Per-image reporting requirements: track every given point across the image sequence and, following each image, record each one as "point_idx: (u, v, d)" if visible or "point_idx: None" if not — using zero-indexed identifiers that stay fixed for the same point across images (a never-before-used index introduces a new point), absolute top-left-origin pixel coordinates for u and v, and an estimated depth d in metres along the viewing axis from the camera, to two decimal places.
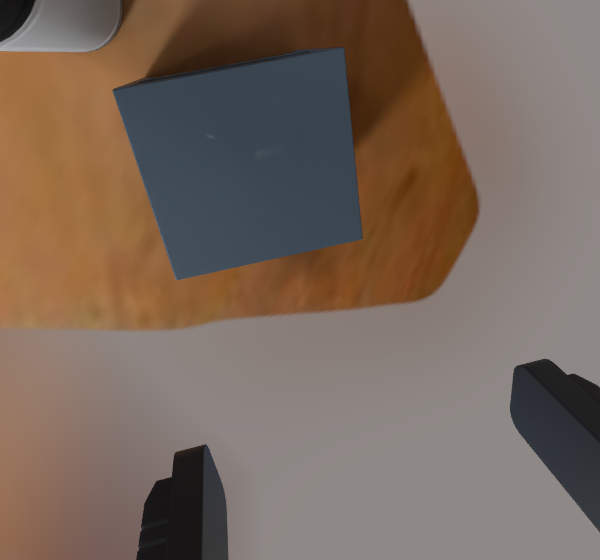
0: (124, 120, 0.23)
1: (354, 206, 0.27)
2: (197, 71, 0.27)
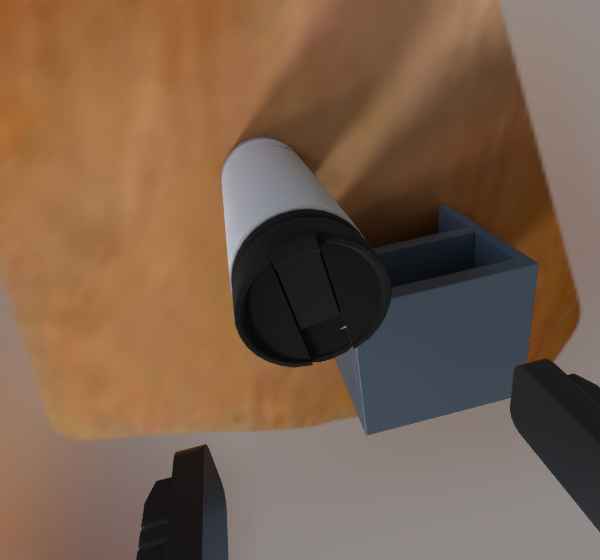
0: None
1: None
2: (382, 252, 0.32)
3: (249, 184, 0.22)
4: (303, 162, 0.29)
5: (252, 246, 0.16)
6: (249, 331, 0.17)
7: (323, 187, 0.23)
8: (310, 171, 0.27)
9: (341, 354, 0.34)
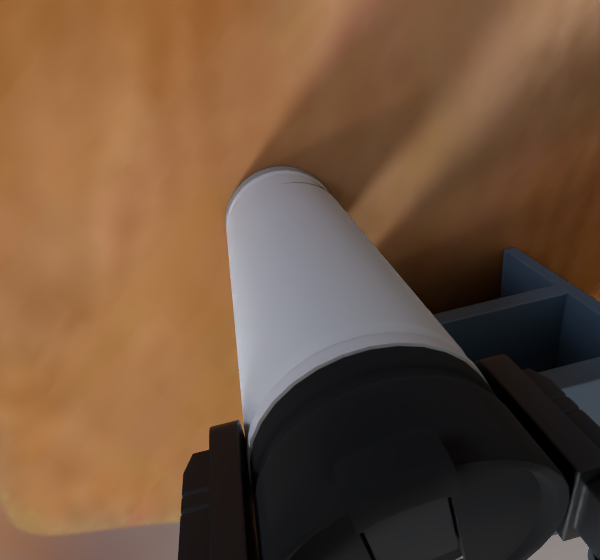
0: None
1: None
2: (444, 323, 0.23)
3: (273, 260, 0.14)
4: (340, 205, 0.21)
5: (297, 440, 0.08)
6: None
7: (385, 260, 0.15)
8: (356, 224, 0.18)
9: None
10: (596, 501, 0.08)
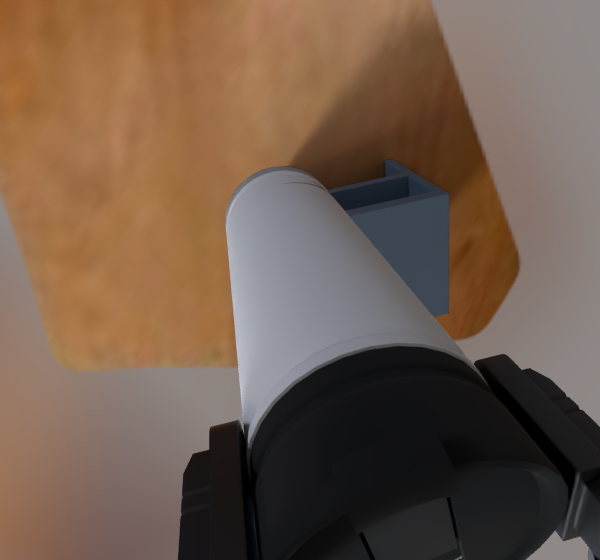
0: None
1: (445, 291, 0.37)
2: None
3: (272, 260, 0.14)
4: None
5: (297, 439, 0.08)
6: None
7: (385, 260, 0.15)
8: (355, 224, 0.18)
9: None
10: (596, 502, 0.08)
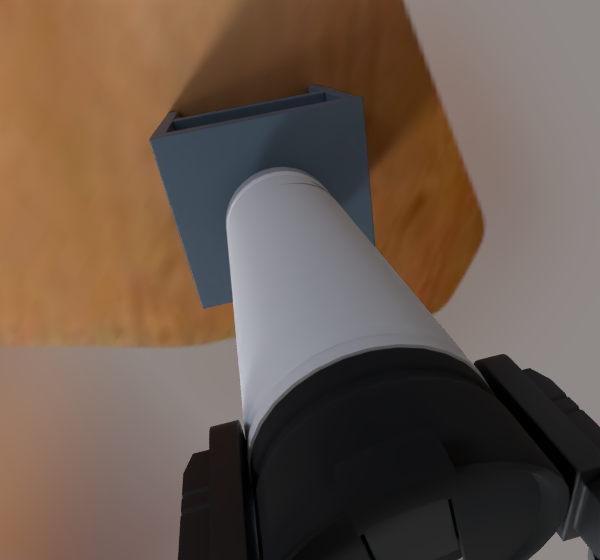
0: (159, 166, 0.24)
1: (369, 239, 0.29)
2: (222, 112, 0.29)
3: (273, 261, 0.14)
4: (340, 206, 0.21)
5: (298, 441, 0.08)
6: None
7: (386, 261, 0.15)
8: (356, 225, 0.18)
9: None
10: (596, 502, 0.08)
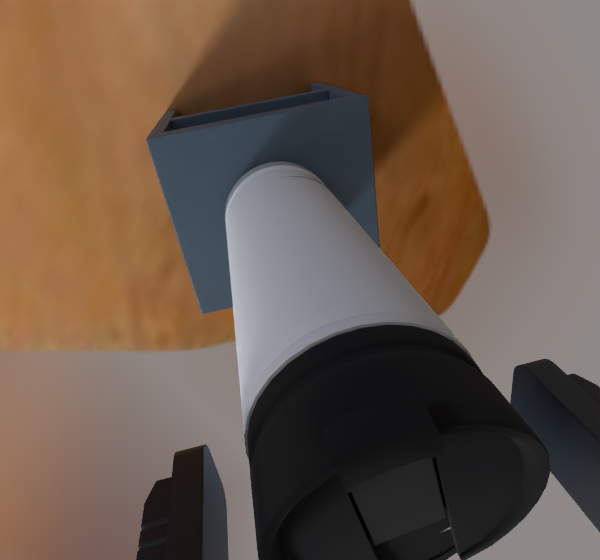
0: (156, 167, 0.23)
1: None
2: (221, 110, 0.28)
3: (270, 249, 0.15)
4: (337, 199, 0.21)
5: (292, 410, 0.09)
6: None
7: (380, 249, 0.16)
8: (351, 216, 0.19)
9: None
10: None
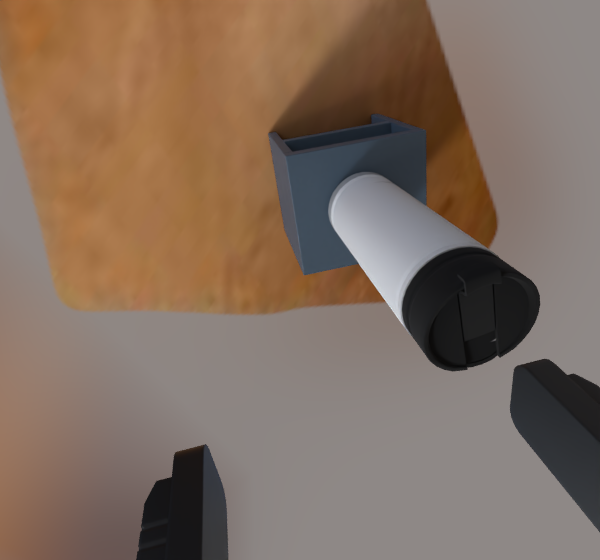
0: (289, 174, 0.36)
1: None
2: (318, 135, 0.41)
3: (392, 220, 0.27)
4: None
5: (435, 276, 0.21)
6: (428, 342, 0.22)
7: None
8: None
9: (289, 223, 0.44)
10: None
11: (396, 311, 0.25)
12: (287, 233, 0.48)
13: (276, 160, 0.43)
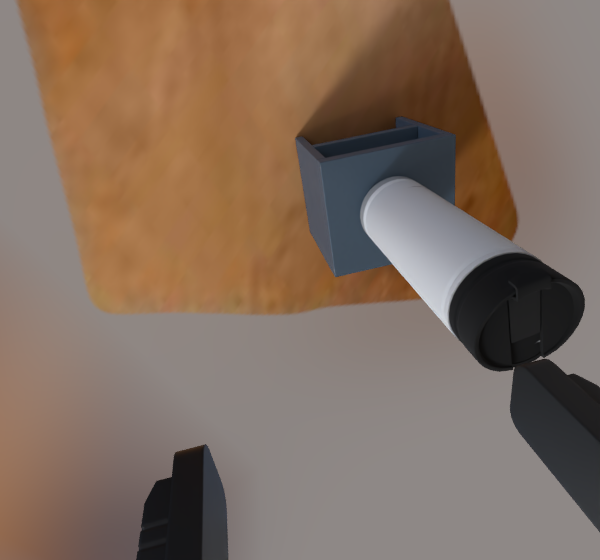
0: (323, 179, 0.37)
1: None
2: (347, 140, 0.42)
3: (432, 226, 0.28)
4: None
5: (484, 282, 0.22)
6: (478, 344, 0.23)
7: None
8: None
9: (318, 226, 0.45)
10: None
11: (441, 314, 0.26)
12: (314, 235, 0.49)
13: (305, 165, 0.44)
